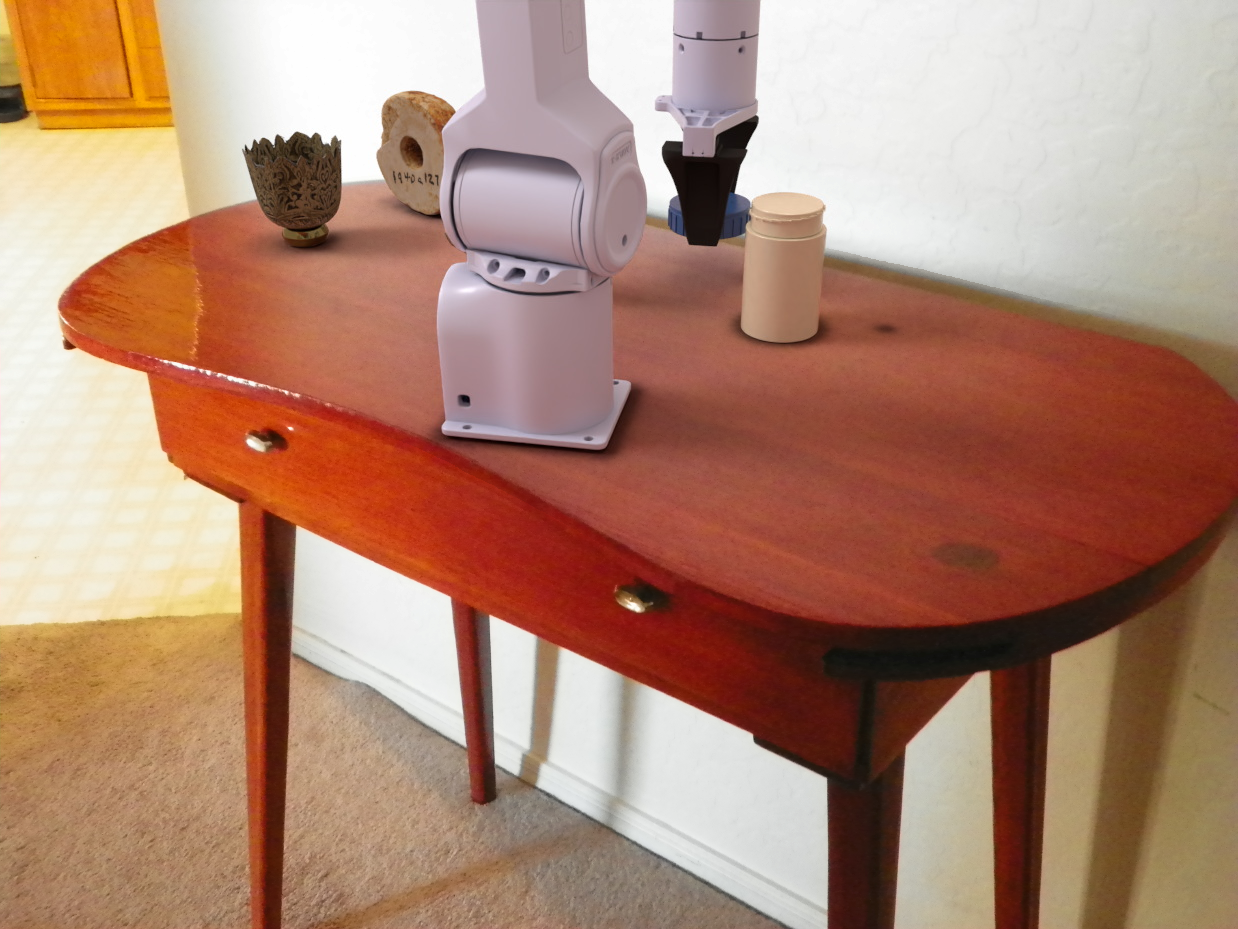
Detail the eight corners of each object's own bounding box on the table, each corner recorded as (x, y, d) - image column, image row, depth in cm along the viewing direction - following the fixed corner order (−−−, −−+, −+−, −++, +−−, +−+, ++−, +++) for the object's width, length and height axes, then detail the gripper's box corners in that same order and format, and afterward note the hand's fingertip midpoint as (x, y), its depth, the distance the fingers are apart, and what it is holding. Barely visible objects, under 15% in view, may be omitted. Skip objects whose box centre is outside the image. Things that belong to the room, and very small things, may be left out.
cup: (239, 246, 91) (221, 146, 87) (309, 221, 97) (295, 126, 92) (303, 264, 88) (287, 161, 84) (372, 237, 93) (360, 139, 89)
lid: (759, 218, 84) (760, 194, 83) (737, 244, 79) (738, 219, 78) (683, 210, 86) (683, 186, 85) (656, 234, 81) (657, 210, 80)
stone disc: (484, 217, 97) (476, 97, 92) (450, 227, 95) (439, 105, 90) (412, 191, 104) (401, 78, 99) (378, 200, 101) (365, 85, 96)
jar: (738, 340, 75) (744, 213, 71) (742, 309, 79) (749, 188, 75) (817, 344, 74) (829, 217, 70) (818, 313, 79) (828, 191, 74)
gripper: (673, 13, 83) (671, 196, 90) (636, 52, 70) (636, 260, 77) (771, 15, 81) (760, 201, 88) (750, 55, 69) (740, 267, 76)
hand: (709, 229), depth 83 cm, fingers closed on lid, 6 cm apart
